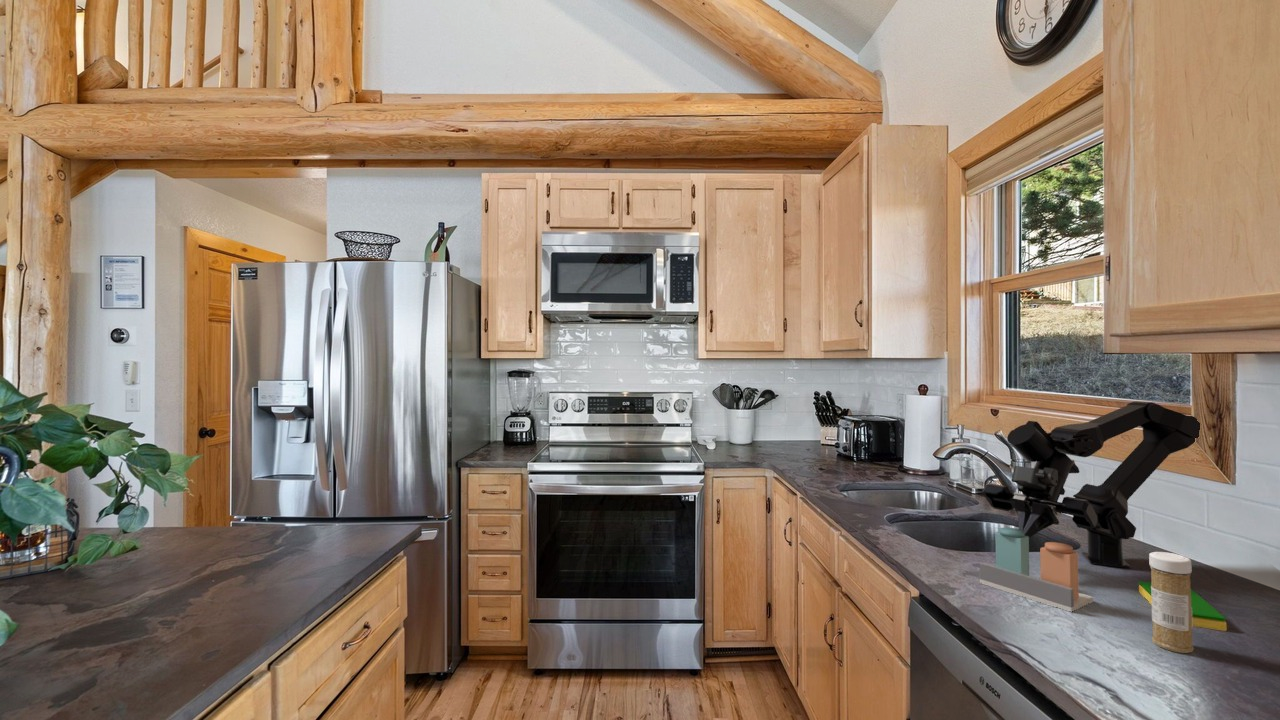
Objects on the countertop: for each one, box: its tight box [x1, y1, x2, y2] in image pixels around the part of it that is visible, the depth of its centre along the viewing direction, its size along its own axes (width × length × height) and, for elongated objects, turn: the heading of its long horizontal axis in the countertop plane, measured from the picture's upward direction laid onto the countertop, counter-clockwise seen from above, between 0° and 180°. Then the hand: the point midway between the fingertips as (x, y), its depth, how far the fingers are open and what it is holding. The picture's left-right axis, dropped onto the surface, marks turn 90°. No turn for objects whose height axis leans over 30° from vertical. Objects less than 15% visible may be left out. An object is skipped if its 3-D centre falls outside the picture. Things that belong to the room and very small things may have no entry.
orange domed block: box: [1039, 541, 1080, 600], centre depth 98 cm, size 4×4×9 cm
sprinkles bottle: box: [1148, 551, 1195, 654], centre depth 82 cm, size 5×5×14 cm
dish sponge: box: [1138, 580, 1228, 632], centre depth 94 cm, size 7×14×2 cm, turn 153°
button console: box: [978, 562, 1094, 613], centre depth 102 cm, size 8×15×4 cm, turn 30°
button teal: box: [994, 527, 1030, 576], centre depth 107 cm, size 4×4×9 cm
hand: (1021, 538), depth 109 cm, fingers closed
